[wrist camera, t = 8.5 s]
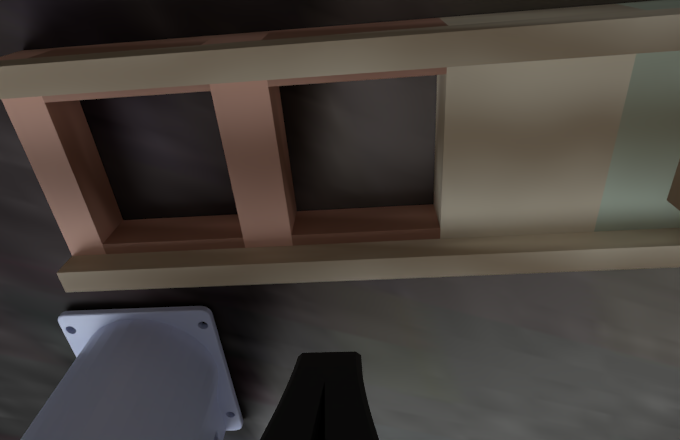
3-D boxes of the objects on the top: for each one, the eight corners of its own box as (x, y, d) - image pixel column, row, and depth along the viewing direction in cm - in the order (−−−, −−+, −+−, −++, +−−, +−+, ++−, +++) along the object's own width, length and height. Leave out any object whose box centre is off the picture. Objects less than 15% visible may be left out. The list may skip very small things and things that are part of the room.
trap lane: (761, 217, 20) (833, 266, 17) (102, 248, 22) (61, 297, 19) (865, -17, 15) (990, -8, 12) (21, 50, 17) (-50, 71, 14)
